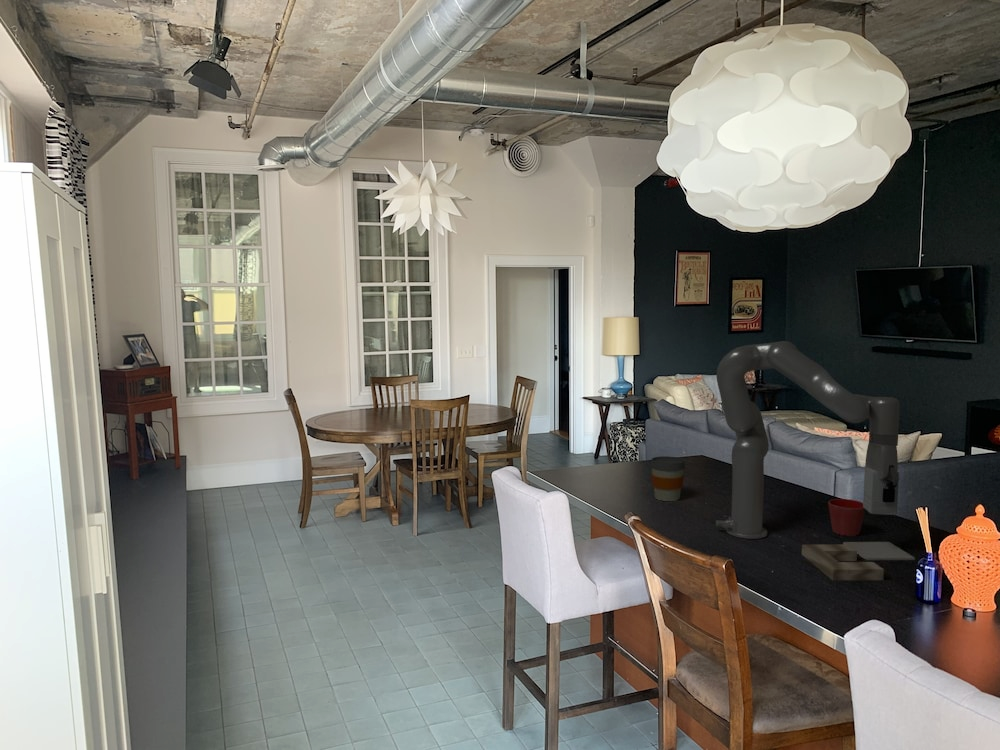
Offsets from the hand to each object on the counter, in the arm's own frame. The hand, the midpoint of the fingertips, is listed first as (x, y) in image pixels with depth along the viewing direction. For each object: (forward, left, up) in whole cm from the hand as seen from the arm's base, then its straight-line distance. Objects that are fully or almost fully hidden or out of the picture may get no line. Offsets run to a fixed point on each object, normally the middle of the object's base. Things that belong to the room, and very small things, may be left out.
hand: (880, 497), depth 215 cm
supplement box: (0, 0, -4) cm, 4 cm away
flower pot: (-1, +18, -17) cm, 25 cm away
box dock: (-17, -12, -16) cm, 26 cm away
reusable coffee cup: (-49, +59, -17) cm, 78 cm away
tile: (0, 0, -16) cm, 16 cm away
